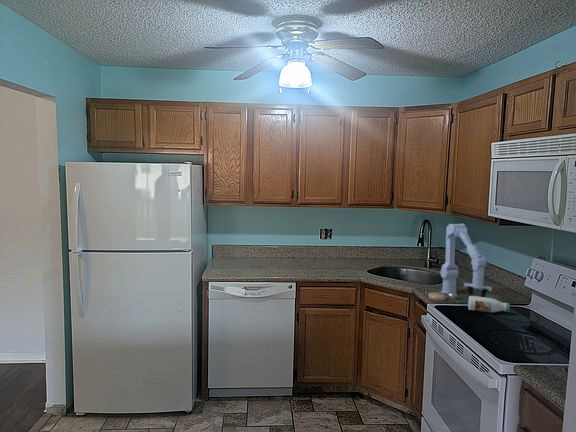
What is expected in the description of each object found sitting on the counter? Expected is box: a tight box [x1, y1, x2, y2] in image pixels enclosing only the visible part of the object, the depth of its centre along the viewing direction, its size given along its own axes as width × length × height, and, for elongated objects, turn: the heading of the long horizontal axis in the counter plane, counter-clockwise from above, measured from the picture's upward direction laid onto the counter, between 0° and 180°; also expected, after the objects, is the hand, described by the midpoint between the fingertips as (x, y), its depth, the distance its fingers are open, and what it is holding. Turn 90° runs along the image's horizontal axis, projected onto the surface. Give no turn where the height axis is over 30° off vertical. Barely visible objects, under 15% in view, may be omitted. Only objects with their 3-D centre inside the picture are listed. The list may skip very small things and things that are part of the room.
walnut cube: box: [472, 292, 482, 297], centre depth 243 cm, size 5×5×5 cm
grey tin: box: [447, 292, 458, 300], centre depth 253 cm, size 5×5×3 cm
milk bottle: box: [467, 295, 511, 314], centre depth 229 cm, size 8×8×20 cm
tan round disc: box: [427, 291, 447, 302], centre depth 251 cm, size 10×10×2 cm
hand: (476, 301), depth 243 cm, fingers closed on walnut cube, 5 cm apart
